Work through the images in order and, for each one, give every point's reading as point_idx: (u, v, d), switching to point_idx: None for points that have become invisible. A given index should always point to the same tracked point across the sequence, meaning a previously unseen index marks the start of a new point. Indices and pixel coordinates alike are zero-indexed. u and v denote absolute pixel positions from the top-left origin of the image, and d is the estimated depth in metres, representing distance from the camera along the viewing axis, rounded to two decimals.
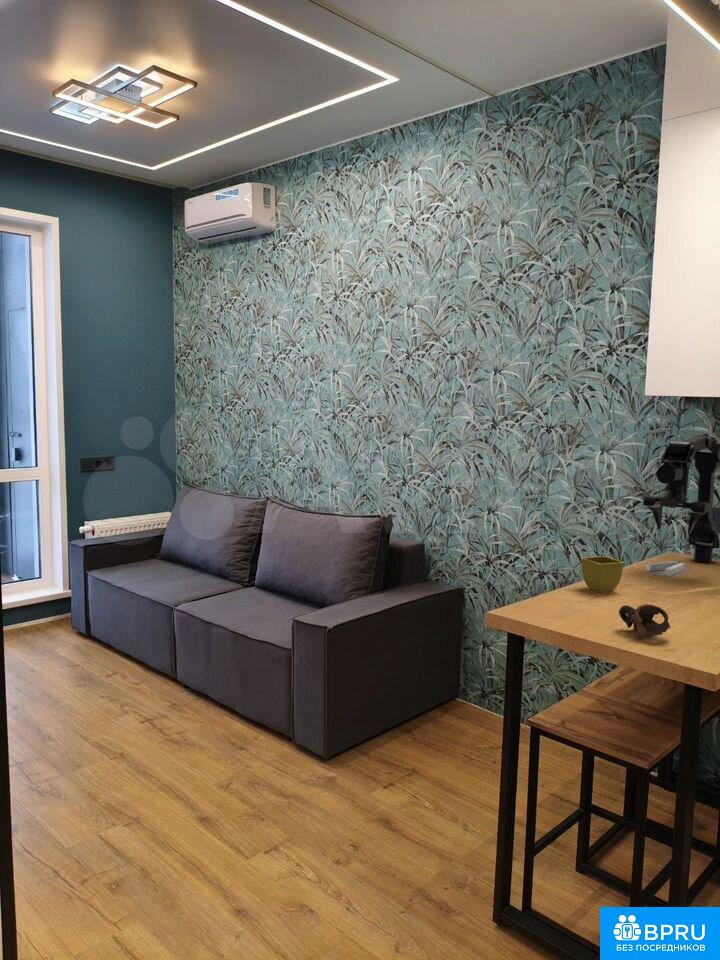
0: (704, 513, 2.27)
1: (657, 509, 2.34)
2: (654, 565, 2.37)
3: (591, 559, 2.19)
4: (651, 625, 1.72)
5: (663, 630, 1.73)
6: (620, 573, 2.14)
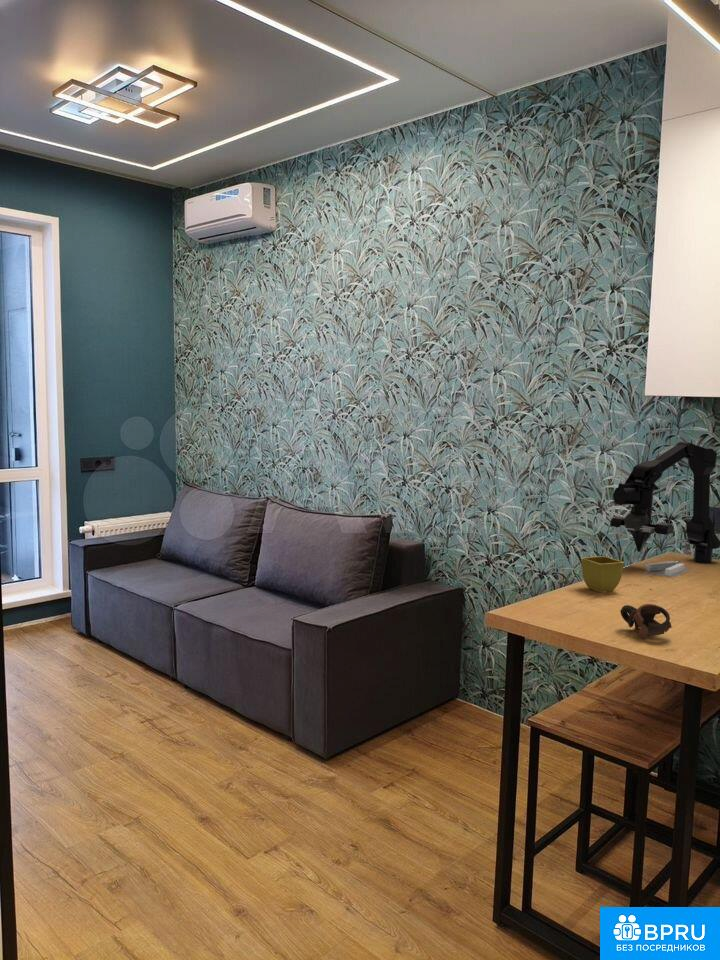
0: (654, 532, 2.40)
1: (637, 532, 2.41)
2: (654, 565, 2.37)
3: (591, 559, 2.19)
4: (653, 625, 1.72)
5: (665, 630, 1.73)
6: (620, 573, 2.14)
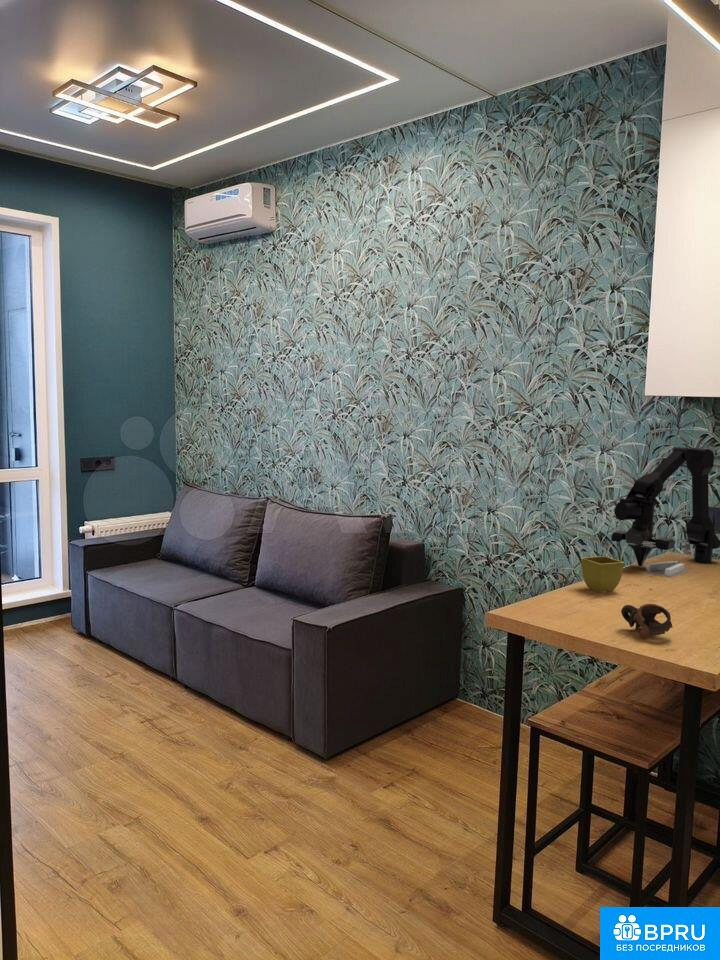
0: (655, 547, 2.40)
1: (638, 547, 2.41)
2: (654, 565, 2.37)
3: (591, 559, 2.19)
4: (654, 624, 1.72)
5: (666, 629, 1.73)
6: (620, 573, 2.14)
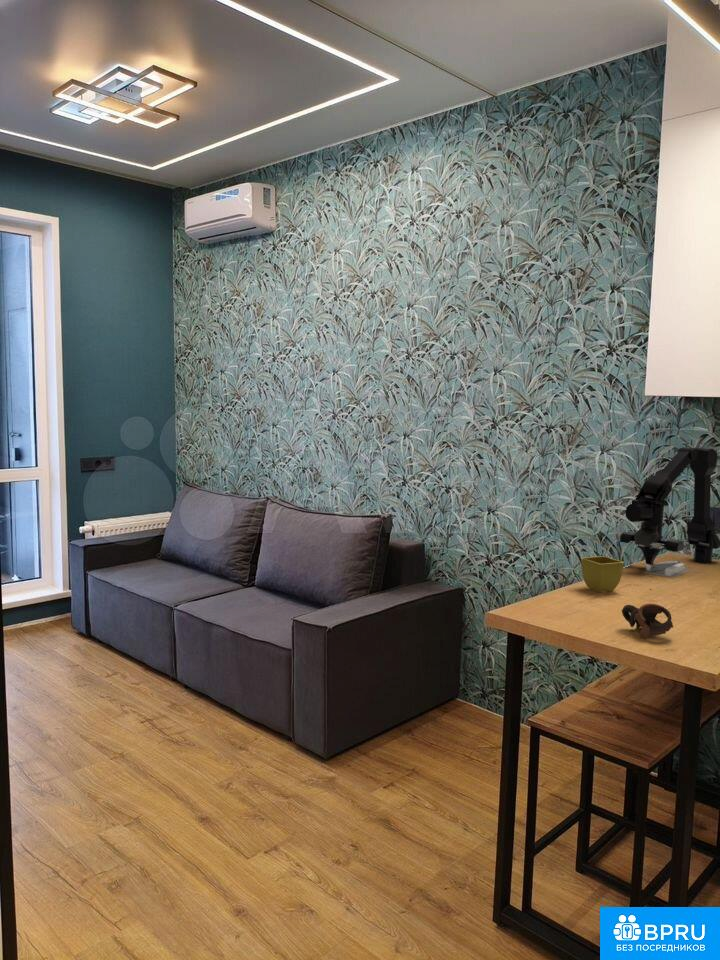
0: (663, 548, 2.38)
1: (647, 548, 2.39)
2: (654, 565, 2.37)
3: (591, 559, 2.19)
4: (655, 624, 1.73)
5: (666, 629, 1.73)
6: (620, 573, 2.14)
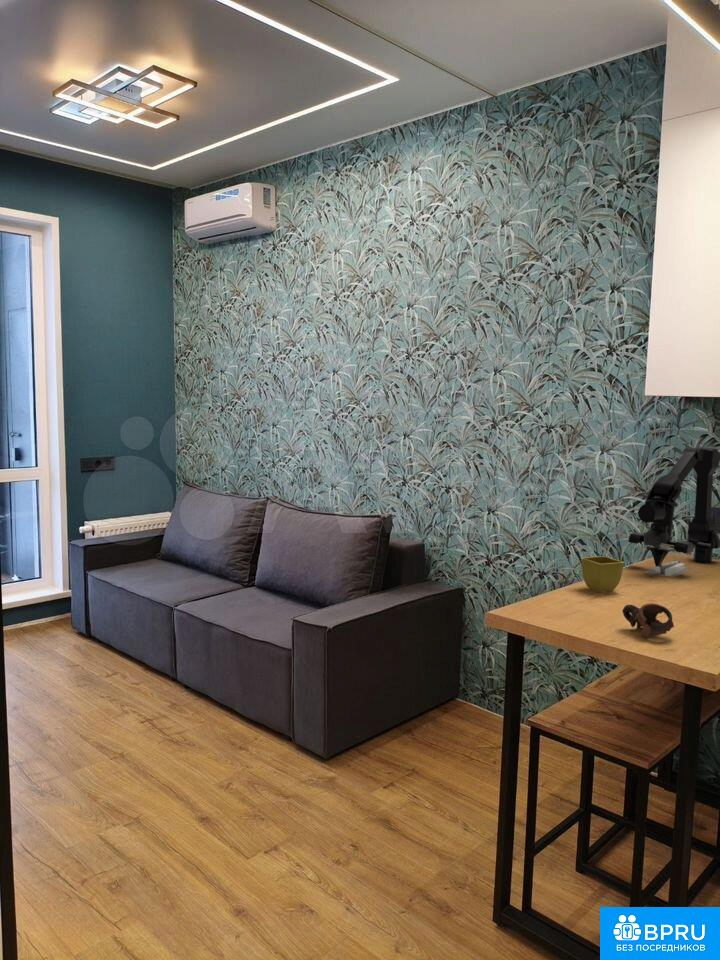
0: (672, 550, 2.36)
1: (656, 549, 2.36)
2: (663, 567, 2.35)
3: (591, 559, 2.19)
4: (655, 624, 1.73)
5: (667, 629, 1.73)
6: (620, 573, 2.14)
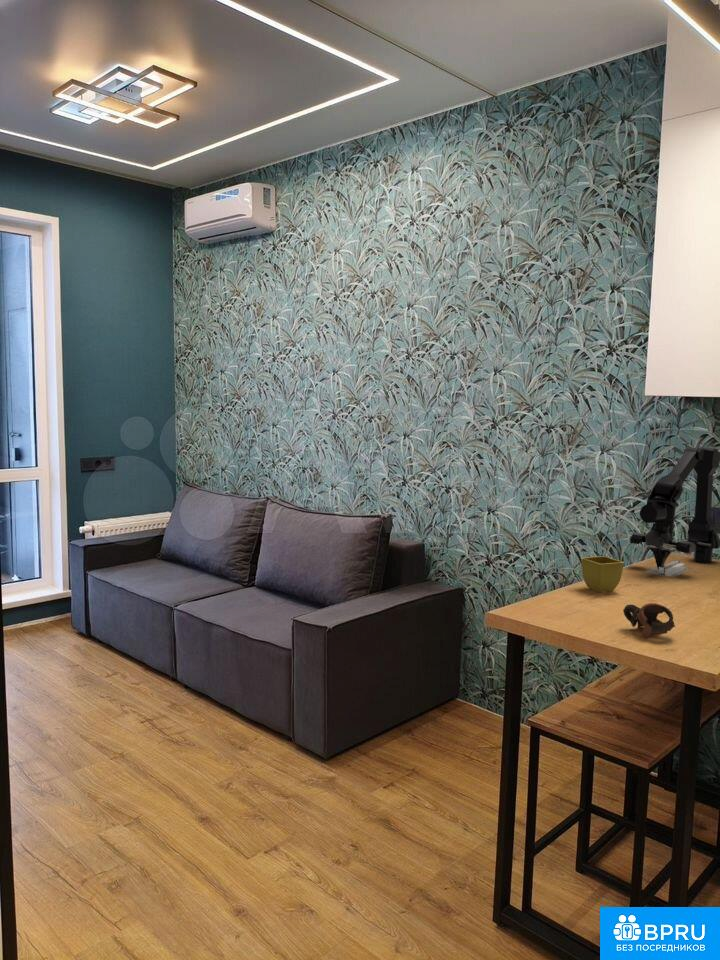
0: (674, 550, 2.35)
1: (657, 549, 2.36)
2: (666, 567, 2.34)
3: (591, 559, 2.19)
4: (656, 624, 1.73)
5: (668, 629, 1.74)
6: (620, 573, 2.14)
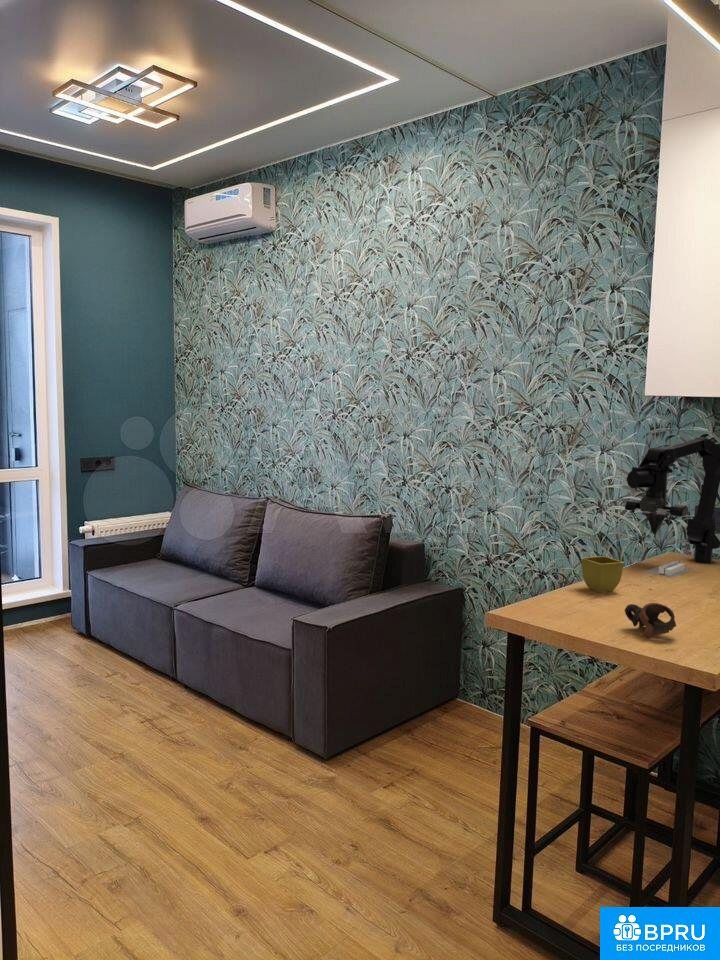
0: (668, 514, 2.43)
1: (652, 515, 2.44)
2: (666, 567, 2.34)
3: (591, 559, 2.19)
4: (658, 623, 1.73)
5: (670, 628, 1.74)
6: (620, 573, 2.14)
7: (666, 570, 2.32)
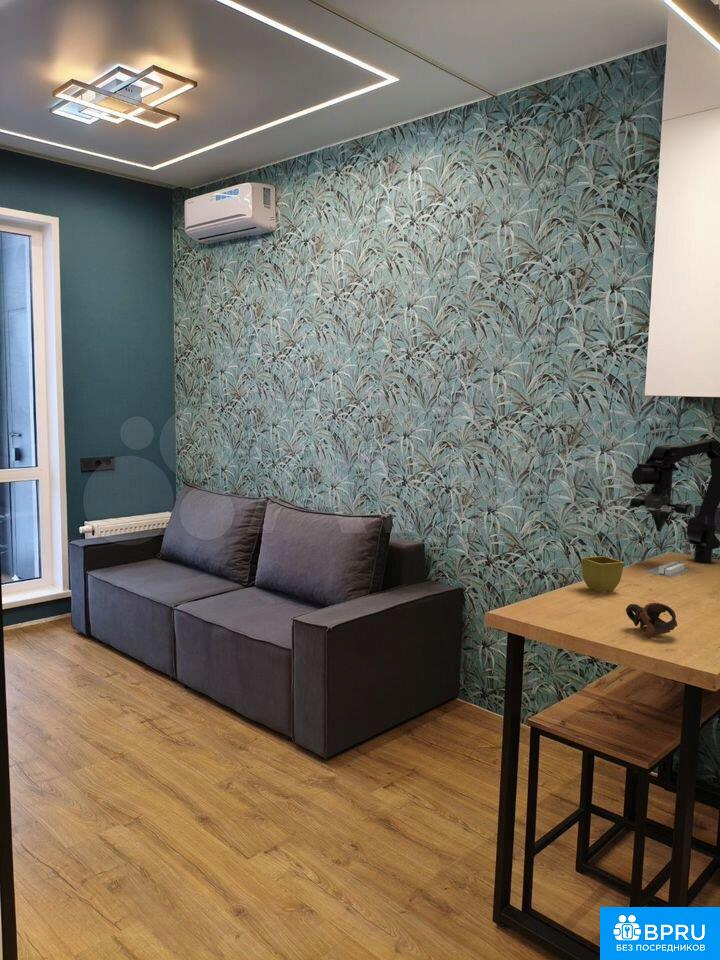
0: (673, 512, 2.45)
1: (656, 512, 2.46)
2: (666, 567, 2.34)
3: (591, 559, 2.19)
4: (659, 623, 1.74)
5: (671, 628, 1.74)
6: (620, 573, 2.14)
7: (666, 570, 2.32)
